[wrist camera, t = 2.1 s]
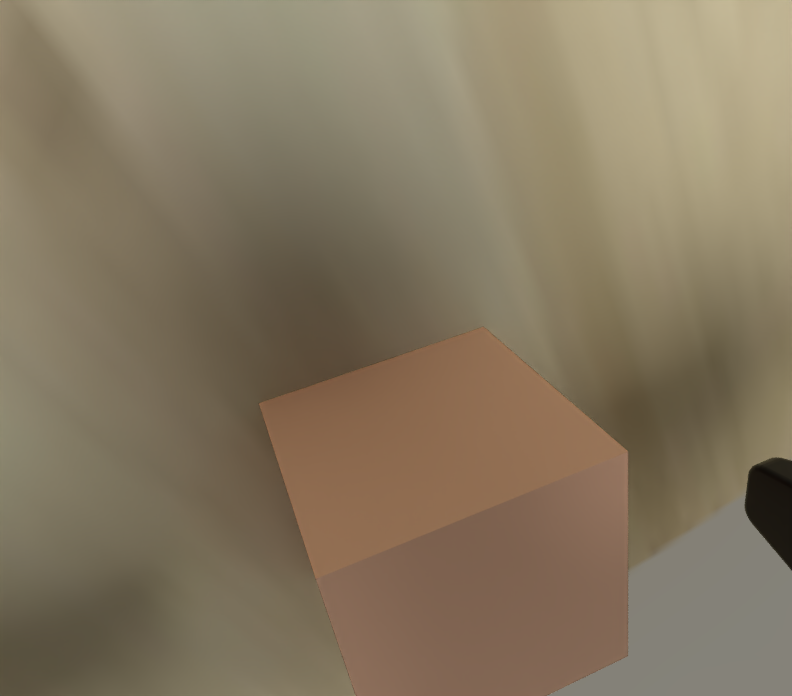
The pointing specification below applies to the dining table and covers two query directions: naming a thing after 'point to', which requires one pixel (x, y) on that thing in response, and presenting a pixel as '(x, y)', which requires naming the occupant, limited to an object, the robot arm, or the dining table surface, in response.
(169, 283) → the dining table surface
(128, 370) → the dining table surface
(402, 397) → the terracotta block
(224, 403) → the dining table surface
